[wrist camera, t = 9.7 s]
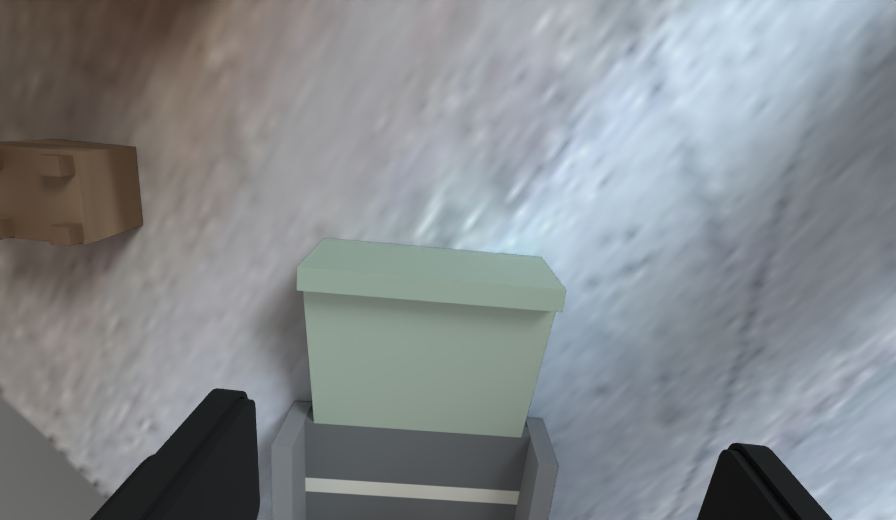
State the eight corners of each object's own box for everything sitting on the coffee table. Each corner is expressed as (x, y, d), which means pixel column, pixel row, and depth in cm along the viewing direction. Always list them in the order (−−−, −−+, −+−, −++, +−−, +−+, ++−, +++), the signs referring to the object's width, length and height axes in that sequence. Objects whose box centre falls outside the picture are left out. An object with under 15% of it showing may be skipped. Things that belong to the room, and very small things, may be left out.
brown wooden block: (135, 146, 17) (60, 153, 14) (143, 224, 18) (74, 249, 15) (53, 139, 17) (-43, 144, 14) (64, 218, 18) (-24, 241, 15)
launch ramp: (541, 257, 19) (566, 289, 15) (516, 419, 21) (532, 480, 18) (324, 238, 19) (296, 267, 15) (321, 404, 21) (296, 465, 17)
